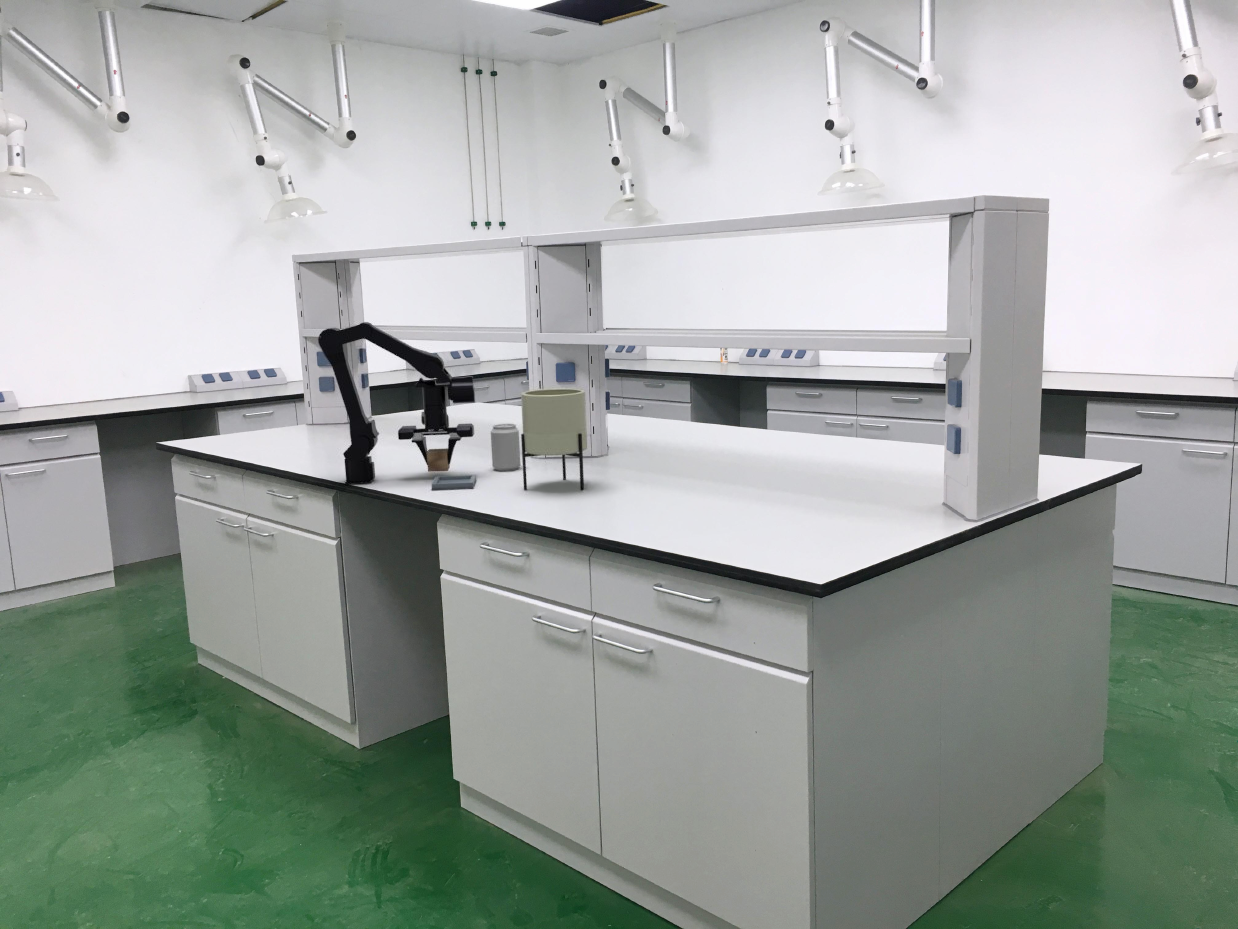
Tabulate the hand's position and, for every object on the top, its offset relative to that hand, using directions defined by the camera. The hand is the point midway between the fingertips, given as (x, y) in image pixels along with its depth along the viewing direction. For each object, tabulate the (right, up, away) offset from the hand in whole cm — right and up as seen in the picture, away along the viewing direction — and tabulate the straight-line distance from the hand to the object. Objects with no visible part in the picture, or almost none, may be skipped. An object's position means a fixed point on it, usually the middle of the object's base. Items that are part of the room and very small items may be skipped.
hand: (438, 464), depth 251 cm
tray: (+6, -5, -10) cm, 13 cm away
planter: (+31, -6, -15) cm, 35 cm away
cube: (0, -1, 0) cm, 1 cm away
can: (+16, -1, +10) cm, 19 cm away
